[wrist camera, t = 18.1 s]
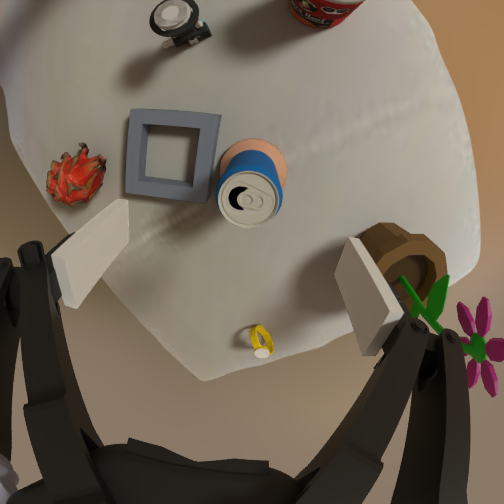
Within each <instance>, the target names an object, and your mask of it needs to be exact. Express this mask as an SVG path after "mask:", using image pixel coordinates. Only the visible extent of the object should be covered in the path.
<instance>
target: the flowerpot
mask: <svg viewBox="0 0 504 504" xmlns="http://www.w3.org/2000/svg"><path fill="white" fill-rule="evenodd" d="M360 241H361V242H362V244H363V245H364V247H365V248H366V250H367V251H368V253H369V255H370V256H371V258H372V259H373V261H374V262H375V264H376V266H377V267H378V269H379V270H380V272H381V274H382V275H383V277H384V279H385V280H386V282H387V283H390V284H391V285H392V286H393V287H394V288H395V289H396V290H397V292H398V293H399V295H400V297H401V298H402V300H403V302H404V303H405V305H406V307H407V309H408V310H409V312H410V314H411V316H412V317H413V318H417V319H418V316H419V314H421V315H422V317H423V318H424V319H425V320H426V321H427V322H428V323H429V324H430V326H431V327H432V328H433V329H434V330H435V331H436V332H437V333H438V334H440V333H441V332H442V330H443V327H442V326H441V325H440V324H439V323H438V322H437V321H436V320H437V319H438V318H439V316H440V315H441V313H442V312H443V308H444V304H445V300H446V295H447V289H448V284H449V278H450V276H449V275H448V274H447V265H446V257H445V253H444V252H443V251H442V250H441V249H440V248H439V247H438V246H437V245H436V244H435V243H433V242H432V241H431V240H430V239H429V238H428V237H427V236H425V235H424V234H410V233H409V232H407V231H406V230H404V229H403V228H401V227H400V226H398V225H396V224H395V223H378V224H376V225H374V226H372V227H371V228H369V229H367V230H365V232H364V233H363V234H362V236H361V237H360ZM457 312H458V320H459V322H460V324H461V326H462V328H463V330H464V332H465V333H466V334H467V335H468V336H470V337H471V339H470V341H469V339H468V338H467V337H460V339H461V342H462V347H463V352H464V356H467V355H471V356H472V357H473V359H472V360H471V361H470V362H468V365H467V369H466V373H467V381H468V387H469V389H470V388H471V387H473V386H474V385H475V384H476V383H477V380H478V377H479V373H480V368H479V363H481V377H482V381H483V384H484V387H485V389H486V390H487V392H488V393H489V394H490V395H491V396H492V397H494V396H496V395H497V391H498V379H497V376H496V373H495V370H494V367H493V365H492V364H491V363H490V362H489V361H487V360H486V356H487V355H488V357H489V358H490V360H491V361H497V362H501V361H503V360H504V339H503V338H492V339H490V340H489V341H488V342H487V343H486V341H485V339H484V336H485V335H486V334H487V332H488V331H489V330H490V324H491V318H492V313H491V308H490V304H489V300H488V299H487V298H486V297H482V299H481V301H480V303H479V305H478V306H477V310H476V319H475V322H474V319H473V317H472V315H471V313H470V311H469V309H468V307H466V306H465V305H464V304H463V303H461V302H458V304H457ZM475 324H476V328H477V332H478V333H475Z"/></svg>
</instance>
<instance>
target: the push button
mask: <svg viewBox="0 0 504 504" xmlns="http://www.w3.org/2000/svg"><path fill="white" fill-rule="evenodd" d="M190 7H191V8H192V9H193V13H192V11H191V8H190ZM198 16H199V8H198V6H197V4H196V3H195V1H193V0H164V1H162V2H161V3H160V4H158V5H157V6H156V7H155V9H154V10H153V11H152V13H151V16H150V21H149V22H150V27H151V29H152V30H153V31H154V32H155V33H157V34H158V35H160V36H164V37H171V38H169V40H167V41H165V42H163V43H162V46H163V47H165V49H167V48H169V47H171V46H176V47H179V46H181V45H184V44H186V43H188V42H189V43H190V44H191V45H193V44H195V43H198V42H199V41H198V40H197V39H198V38H201V37H204V38H207V37H210V36H211V32H210V30H209V28H208V25H207V23H206V22H205V20H204V19H202V20H199V21H198ZM160 28H161V29H164V30H166V31H162V30H161V29H160ZM193 42H195V43H193ZM165 43H166V44H165ZM168 45H169V46H168ZM167 46H168V47H167Z"/></svg>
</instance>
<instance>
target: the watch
mask: <svg viewBox="0 0 504 504" xmlns="http://www.w3.org/2000/svg"><path fill="white" fill-rule="evenodd" d="M257 331H258V332H259V333H260V334H261V335H262V336H263V338H264V340H265V342H266V346H267V347H265V346H261V344H260V342H259V340H258V336H257ZM250 339H251V343H252V344H253V347H254V355H255V356H256V357H258V358H266V357H268V356H269V355H271V354H272V353H273V352H274V345H273V341H272V338H271V336H270V334H269V333H268V332H267V331H266V330H265V329H264V328H263V327H262V326H261V325H257V326H255V327H253V328H251V330H250Z"/></svg>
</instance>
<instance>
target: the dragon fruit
mask: <svg viewBox="0 0 504 504" xmlns="http://www.w3.org/2000/svg"><path fill="white" fill-rule="evenodd" d="M79 146H81V147H82V149H81V150H79V151H78V154H77V156H76V157H73V158H71V156H70V155H69V154H68V153H67V152H65V153H64V154H62V156H61V159H63V160H62V162H61V163H59V162H57V161H54V160H53V161H52V163H51V170H50V171H49V172H48V173H47V181H46V184H47V186H46V188H47V187H48V188H47V190H46V191H47V192H48V193H49V194H52V196H53V199H54V200H55V201H57V202H58V201H60V200H61V201H62V202H63V203H64V204H68V205H69V206H71V207H73V206H75V205H76V204H79V203H83V202H84V203H86V202H89V201H90V200H91V198H92V197H93V195H94V194H95V193H96V192H97V190H98V189H99V188H100V187H101V186H102V184H103V183H102V180H103V177H104V174H105V171H106V166H105V164H106V159H104V158H103V157H102V156H101V155H100V154H99V156H95V157H93V158H90V159H88V158H87V155H88V152H89V150H88V147H87V145H86V144H85V143H79ZM102 168H103V169H102ZM101 183H102V184H101Z"/></svg>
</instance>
